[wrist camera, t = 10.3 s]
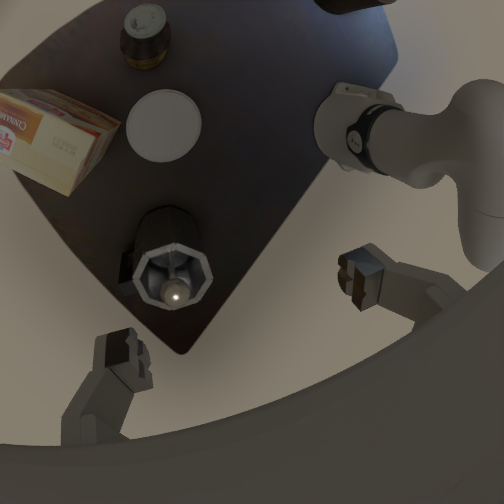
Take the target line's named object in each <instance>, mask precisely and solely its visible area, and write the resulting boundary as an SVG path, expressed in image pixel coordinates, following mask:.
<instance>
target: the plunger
mask: <svg viewBox="0 0 504 504" xmlns="http://www.w3.org/2000/svg"><path fill="white" fill-rule="evenodd" d="M188 257H189V255H188V254H185V253H183V252H180V251H178V250H172V251H169V252H166V253H163V254H160V255H157V256H154V257H152V258H150V260H151V261H152V262H153V263H154V264H156V265H157V266H160V267H163V268H168V271H169V279H168V280H166V281H165V282H164V283H163V284H162V286H161V290H160V295H161V298H162V300H163V302H164V303H165V304H166V305H168V306H170V307H174V308H177V307H181V306H183V305H184V304H185V303H186V302H187V301H188V299H189V296H190V289H189V286H188V285H187V283H186V282H185V281H184V280H182V279H180V278H176V272H175V267H177V266H179V265H181V264H183V263H184V262H185V261H186V260H187V259H188Z"/></svg>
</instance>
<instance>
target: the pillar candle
mask: <svg viewBox="0 0 504 504" xmlns="http://www.w3.org/2000/svg"><path fill="white" fill-rule="evenodd" d="M314 1H315V2H316V3H317V4H318V5H319V6H320V7H321V8H322V9H324V10H325V11H327V12H329V13H332V14H338V15H339V14H345V13H348V12H352V11H357V10H361V9H366V8H370V7H375V6H381V5H386V4H391V3H394V2H395V1H396V0H314Z"/></svg>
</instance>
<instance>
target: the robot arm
mask: <svg viewBox="0 0 504 504" xmlns="http://www.w3.org/2000/svg"><path fill="white" fill-rule="evenodd" d="M346 87H347V90H346ZM314 135H315V139H316V142H317V144H318V146H319V148H320V150H321V151H322V152H323V153H324V154H325V155H326V156H327V157H329V158H331V159H333V160H335V161H336V162H337V163H338V164H339V166H340V167H341V168H342V169H343V170H344V171H351V170H353V169H356V170H358V171H361V172H364V173H370V172H372V171H373V172H376V173H378V174H382V175H387V176H391V177H393V178H395V179H398V180H399V181H401V182H404V183H405V184H408V185H409V186H411V187H413V188H417V189H423V188H428V187H431V186H434V185H435V184H437V183H438V182H439V181H440V180H441V179H442V177H444V175H445V174H446V175H448V176H450V177H451V178H452V179H453V180H454V182H455V183H456V185H457V191H458V227H459V232H460V238H461V242H462V246H463V251H464V254H465V256H466V257H467V259H468V261H469V262H470V263H471V264H472V265H474V266H475V267H476V268H478V269H480V270H482V271H485V272H490V273H489V274H487V275H486V276H485V277H484V278H483V279H482V280H481V281H479V282H478V283H477V284H476V285H475V286H473V287H472V288H471V289H470V290H468V291H466V290H465V289H464V288H463V287H461V286H460V285H459V284H458V283H457V282H455V281H454V280H453V279H452V278H451V277H450V276H448V275H446V274H443V273H439V272H435V271H431V270H428V269H424V268H421V267H417V266H413V265H409V264H406V263H401V262H398V263H396V262H395V261H393V260H392V259H391V258H390V257H389V256H388V255H386V254H385V253H384V252H383V251H382V250H380V249H379V248H378V247H377V246H375V245H374V244H372V243H369V244H366V245H364V246H361V247H360V248H357V249H354V250H353V251H350V252H347V253H345V254H342V255H340V256H339V258H338V265H340V267H341V268H340V270H339V272H338V282H339V285H340V287H341V289H342V290H343V292H344V293H345V294H346V295H349V296H352V302H353V303H354V305H355V306H356V307H357V308H358V309H359V310H360V312H361V311H363V310H366V309H368V308H370V307H372V306H374V305H376V304H378V305H379V306H381V307H384V308H386V309H388V310H390V311H393V312H395V313H397V314H399V315H402V316H404V317H406V318H408V319H410V320H413V321H415V324H414V327H413V329H412V332H410V333H409V334H407V335H406V336H404V337H402V338H401V339H399V340H397V341H396V342H394V343H393V344H391V345H389V346H388V347H386V348H384V349H382V350H381V351H379V352H377V353H375V354H374V355H372V356H370V357H368V358H366V359H364V360H363V361H361V362H359V363H357V364H355V365H353V366H351V367H349V368H347V369H345V370H343V371H341V372H340V373H337V374H336V375H333V376H331V377H329V378H327V379H325V380H323V381H321V382H319V383H316V384H314V385H312V386H310V387H307V388H305V389H303V390H300V391H298V392H296V393H293V394H291V395H288V396H286V397H283V398H281V399H278V400H276V401H273V402H270V403H268V404H265V405H262V406H260V407H257V408H254V409H251V410H248V411H245V412H242V413H240V414H236V415H233V416H230V417H227V418H223V419H220V420H217V421H213V422H210V423H206V424H202V425H199V426H195V427H191V428H187V429H182V430H178V431H174V432H169V433H164V434H159V435H155V436H149V437H143V438H138V439H131V440H130V439H129V438H127V437H125V436H124V435H122V434H121V433H119V432H120V430H121V427H122V424H123V422H124V419H125V417H126V414H127V411H128V409H129V406H130V404H131V401H132V399H133V396H134V394H133V393H137V392H140V391H144V390H148V389H152V388H153V382H152V373H151V372H150V371H149V370H148V368H149V366H150V364H151V362H150V356H149V353H148V350H147V348H146V346H145V344H144V343H143V341H141V340H139V339H137V333H136V331H135V330H134V328H131V327H130V328H126V329H123V330H119V331H115V332H111V333H108V334H105V335H101V336H97V338H96V339H95V347H94V358H93V371H91V372H89V373H88V375H87V376H86V378H85V380H84V381H83V383H82V384H81V386H80V388H79V389H78V391H77V392H76V394H75V395H74V397H73V399H72V400H71V402H70V404H69V405H68V407H67V409H66V410H65V412H64V414H63V416H62V420H61V446H26V445H11V444H0V504H504V84H502V83H500V82H497V81H494V80H488V79H479V80H474V81H471V82H469V83H467V84H465V85H463V86H462V87H461V88H460V89H459V90H458V91H457V92H456V93H455V94H454V96H453V98H452V100H451V102H450V104H449V105H448V107H447V108H446V109H445V110H444V111H442V112H441V113H439V114H436V115H423V114H417V113H411V112H406V111H405V110H404V108H403V107H402V105H401V104H398V103H396V102H395V100H394V97H393V95H392V94H390V93H387V92H383V91H380V90H376V89H372V88H367V87H363V86H359V85H354V84H349V83H344V82H337V83H336V85H335V86H334V88H333V91H332V93H331V94H330V96H329V97H328V98H326V99H325V100H324V101H323V102H322V104H321V105H320V107H319V108H318V110H317V113H316V116H315V120H314Z"/></svg>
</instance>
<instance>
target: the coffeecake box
mask: <svg viewBox="0 0 504 504" xmlns="http://www.w3.org/2000/svg"><path fill="white" fill-rule="evenodd" d="M120 124H121V122H120V121H118V120H116V119H114V118H113V117H111V116H109V115H107V114H105V113H103V112H100V111H98V110H96V109H94V108H92V107H90V106H88V105H86V104H84V103H82V102H79V101H77V100H75V99H73V98H71V97H68V96H66V95H64V94H62V93H59V92H57V91H55V90H48V89H1V90H0V163H1V164H3V165H5V166H7V167H9V168H11V169H13V170H15V171H17V172H19V173H21V174H23V175H25V176H27V177H29V178H31V179H33V180H35V181H37V182H39V183H41V184H43V185H45V186H47V187H49V188H51V189H53V190H55V191H57V192H59V193H61V194H63V195H65V196H68V197H69V195H70V194H71V193H72V192H73V191H74V189H75V188H76V187H77V186H78V185H79V183H80V182H81V181H82V180H83V179H84V178H85V177H86V176H87V174H88V173H89V172H90V171H91V170H92V169H93V168H94V166H95V165H96V164H97V163H98V162H99V161H100V160H101V159H102V158H103V156H104V154H105V152H106V150H107V148H108V146H109V145H110V143H111V141H112V139H113V137H114V135H115V133H116V132H117V130H118V128H119V126H120Z"/></svg>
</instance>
